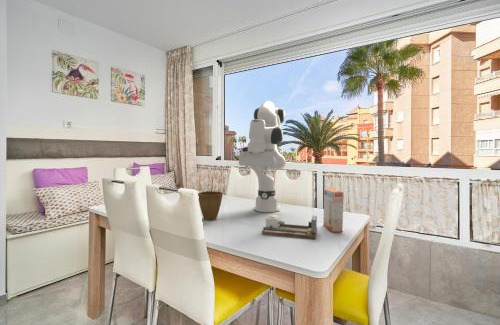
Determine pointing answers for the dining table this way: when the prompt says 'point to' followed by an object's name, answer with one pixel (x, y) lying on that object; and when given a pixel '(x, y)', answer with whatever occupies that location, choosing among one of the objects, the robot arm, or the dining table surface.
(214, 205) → the plant pot
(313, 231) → the grey long frame
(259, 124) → the robot arm
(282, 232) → the gauge bench
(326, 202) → the cracker box
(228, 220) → the dining table surface
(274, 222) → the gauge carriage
